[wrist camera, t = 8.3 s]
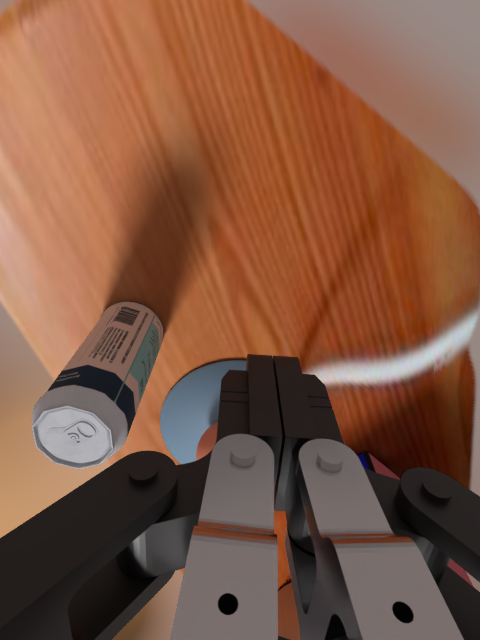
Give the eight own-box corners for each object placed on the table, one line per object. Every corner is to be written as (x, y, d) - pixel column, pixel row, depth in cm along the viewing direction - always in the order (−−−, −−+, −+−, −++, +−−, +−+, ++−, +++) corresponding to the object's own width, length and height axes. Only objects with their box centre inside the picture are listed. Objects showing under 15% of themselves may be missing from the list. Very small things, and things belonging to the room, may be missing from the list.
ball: (271, 431, 35) (270, 499, 32) (210, 433, 37) (204, 499, 34) (258, 406, 31) (257, 482, 28) (190, 410, 32) (181, 482, 29)
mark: (323, 470, 37) (323, 471, 36) (183, 491, 38) (183, 493, 38) (302, 346, 31) (302, 347, 31) (140, 375, 32) (139, 377, 32)
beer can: (87, 320, 30) (1, 427, 19) (136, 286, 29) (74, 381, 18) (129, 365, 32) (71, 488, 21) (177, 336, 31) (142, 449, 20)
